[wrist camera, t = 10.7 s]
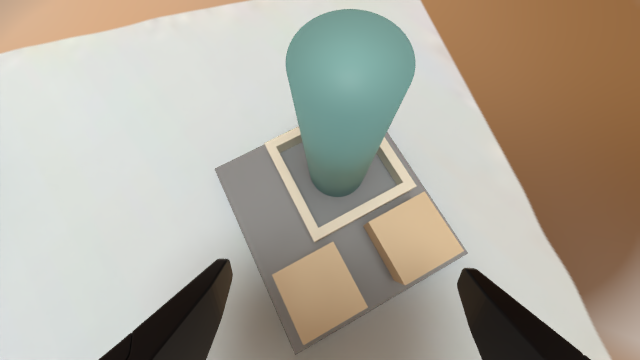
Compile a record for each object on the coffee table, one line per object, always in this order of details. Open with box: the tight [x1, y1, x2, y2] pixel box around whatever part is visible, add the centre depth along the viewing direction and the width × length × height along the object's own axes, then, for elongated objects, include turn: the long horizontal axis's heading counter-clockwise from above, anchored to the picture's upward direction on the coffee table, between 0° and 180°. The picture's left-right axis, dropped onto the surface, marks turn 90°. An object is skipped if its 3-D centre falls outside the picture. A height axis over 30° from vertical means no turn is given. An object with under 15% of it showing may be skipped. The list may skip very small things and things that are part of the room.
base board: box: [215, 127, 468, 355], centre depth 22 cm, size 16×17×4 cm
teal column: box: [286, 9, 415, 197], centre depth 17 cm, size 5×5×14 cm
